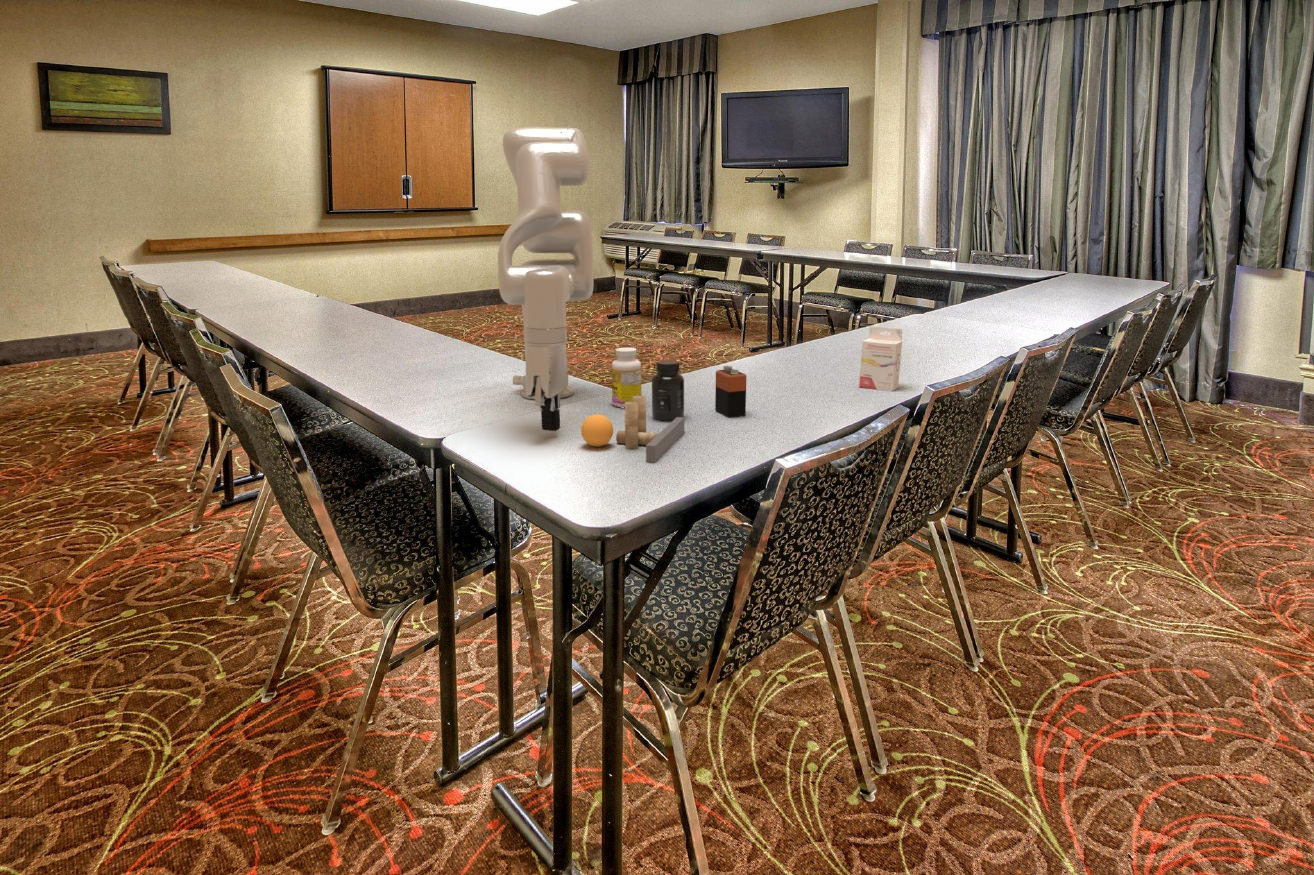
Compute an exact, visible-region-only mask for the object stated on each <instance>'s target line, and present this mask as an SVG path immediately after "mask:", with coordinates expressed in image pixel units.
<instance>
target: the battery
mask: <svg viewBox="0 0 1314 875" xmlns="http://www.w3.org/2000/svg"><path fill="white" fill-rule="evenodd" d="M722 367H723V369H719V370H718V369H717V370H716V371H715V393H714V394H715V398H714V399H715V402H714V404H715V407H714V409H715V411H716V412H717V413H720V414H722V415H723V416H724V417H727V418H737V417H744V416H746V414H747V413H746V412H747V405H746V403H747V374H745V373H743V372H741V371H739V369H734V368H733V366H732V365H724V366H722Z"/></svg>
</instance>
